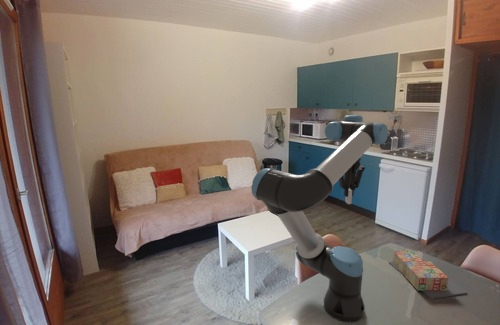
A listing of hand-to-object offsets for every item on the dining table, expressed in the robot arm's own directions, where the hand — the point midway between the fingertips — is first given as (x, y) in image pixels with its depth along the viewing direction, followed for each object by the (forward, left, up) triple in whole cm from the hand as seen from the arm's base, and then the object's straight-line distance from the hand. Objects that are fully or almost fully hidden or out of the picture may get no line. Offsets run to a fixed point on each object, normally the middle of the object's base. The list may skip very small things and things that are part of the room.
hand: (348, 202), depth 122 cm
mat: (+33, -11, -34) cm, 49 cm away
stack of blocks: (+24, -9, -31) cm, 40 cm away
